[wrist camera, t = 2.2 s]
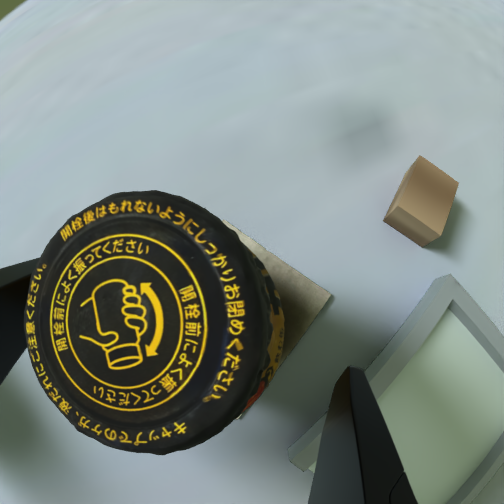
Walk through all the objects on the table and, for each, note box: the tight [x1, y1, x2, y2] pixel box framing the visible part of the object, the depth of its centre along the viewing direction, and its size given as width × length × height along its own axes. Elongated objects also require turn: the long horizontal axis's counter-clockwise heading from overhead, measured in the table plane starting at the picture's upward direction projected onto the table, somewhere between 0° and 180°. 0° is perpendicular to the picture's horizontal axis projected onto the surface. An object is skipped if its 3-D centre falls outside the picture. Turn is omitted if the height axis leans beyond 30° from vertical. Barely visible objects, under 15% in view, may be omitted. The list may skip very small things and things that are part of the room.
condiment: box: [24, 190, 331, 455], centre depth 11 cm, size 7×8×12 cm
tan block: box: [383, 156, 459, 247], centre depth 17 cm, size 4×3×2 cm
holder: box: [287, 274, 504, 504], centre depth 14 cm, size 13×13×2 cm
